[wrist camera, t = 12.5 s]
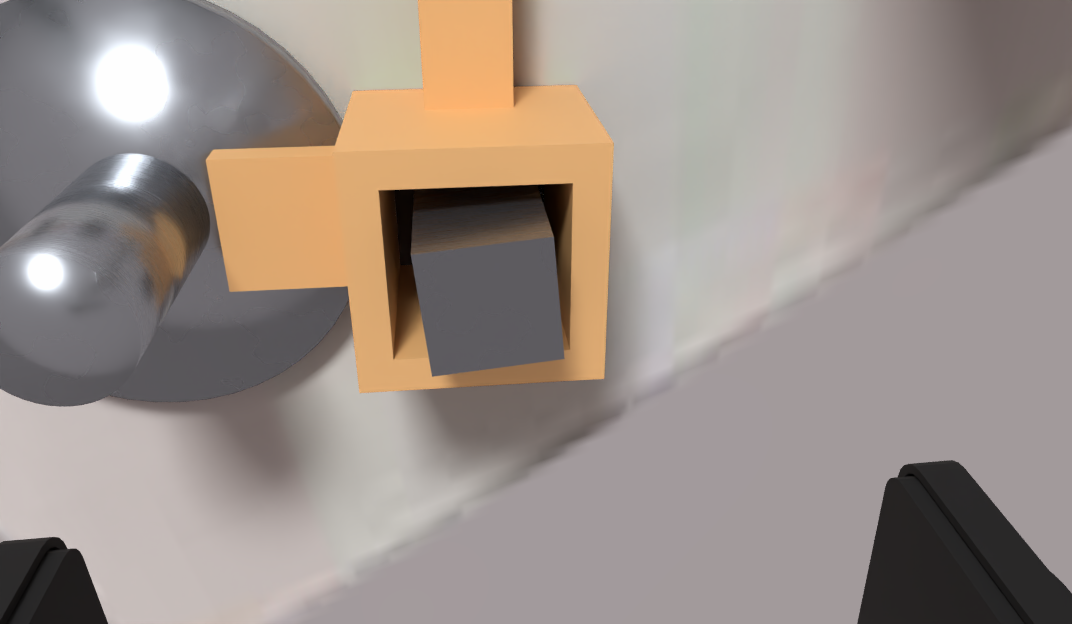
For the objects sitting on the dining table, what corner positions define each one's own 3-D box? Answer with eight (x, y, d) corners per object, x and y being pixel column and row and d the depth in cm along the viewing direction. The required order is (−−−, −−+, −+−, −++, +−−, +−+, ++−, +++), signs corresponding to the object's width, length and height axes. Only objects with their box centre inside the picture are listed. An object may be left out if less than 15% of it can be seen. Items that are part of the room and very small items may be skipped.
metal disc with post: (344, -24, 30) (309, 26, 21) (383, 375, 37) (368, 535, 29) (-154, -17, 28) (-417, 39, 20) (-12, 397, 36) (-156, 573, 27)
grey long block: (521, 135, 33) (553, 236, 24) (531, 232, 35) (564, 358, 26) (416, 148, 33) (410, 254, 24) (431, 245, 35) (432, 376, 26)
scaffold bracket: (584, -307, 27) (634, -360, 20) (572, 283, 36) (604, 378, 30) (144, -314, 26) (45, -374, 19) (249, 299, 35) (207, 402, 28)
